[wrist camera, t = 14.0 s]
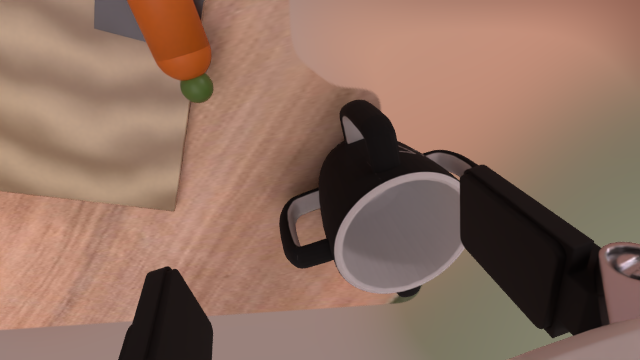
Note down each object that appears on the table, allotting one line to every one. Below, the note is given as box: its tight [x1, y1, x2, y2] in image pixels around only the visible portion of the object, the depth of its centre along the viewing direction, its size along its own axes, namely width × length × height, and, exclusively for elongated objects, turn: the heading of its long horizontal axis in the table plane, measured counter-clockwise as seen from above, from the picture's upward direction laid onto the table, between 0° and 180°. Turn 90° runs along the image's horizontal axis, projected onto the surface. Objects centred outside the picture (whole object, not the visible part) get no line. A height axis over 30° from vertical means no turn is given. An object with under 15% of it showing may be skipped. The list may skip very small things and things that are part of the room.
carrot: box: [127, 0, 213, 103], centre depth 23 cm, size 14×4×4 cm, turn 13°
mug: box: [279, 100, 479, 297], centre depth 33 cm, size 16×16×12 cm
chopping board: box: [0, 0, 205, 211], centre depth 26 cm, size 22×20×2 cm
